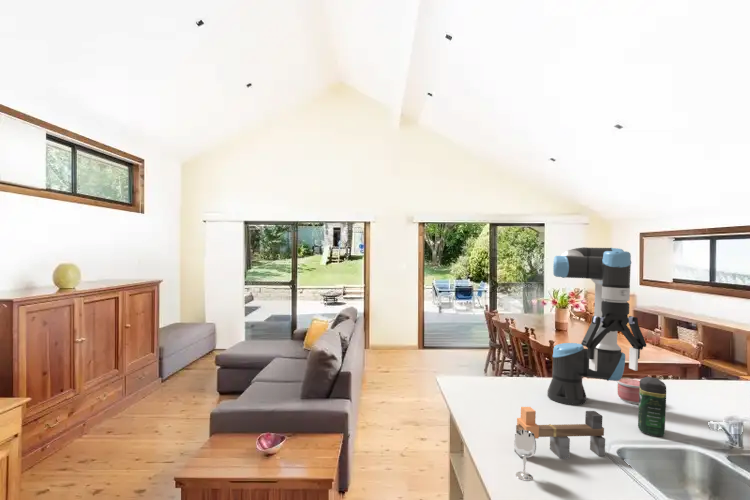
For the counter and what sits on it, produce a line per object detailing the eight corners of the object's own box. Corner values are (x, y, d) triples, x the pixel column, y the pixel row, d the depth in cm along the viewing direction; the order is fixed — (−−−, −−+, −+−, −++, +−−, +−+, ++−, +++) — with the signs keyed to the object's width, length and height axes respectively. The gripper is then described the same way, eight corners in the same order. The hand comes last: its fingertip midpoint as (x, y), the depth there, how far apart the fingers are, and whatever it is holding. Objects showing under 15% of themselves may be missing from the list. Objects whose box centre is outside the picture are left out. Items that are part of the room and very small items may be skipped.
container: (629, 395, 185) (629, 377, 185) (651, 404, 176) (651, 385, 175) (610, 397, 182) (611, 379, 182) (632, 406, 172) (632, 387, 172)
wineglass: (509, 470, 120) (511, 428, 120) (529, 470, 120) (530, 428, 120) (518, 482, 114) (519, 438, 114) (538, 481, 114) (540, 437, 114)
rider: (516, 429, 133) (517, 405, 132) (528, 429, 133) (529, 405, 133) (526, 438, 126) (526, 413, 126) (538, 438, 127) (539, 413, 126)
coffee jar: (666, 439, 142) (668, 385, 142) (639, 434, 146) (641, 380, 146) (662, 428, 151) (664, 377, 151) (636, 423, 155) (638, 373, 155)
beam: (513, 449, 132) (514, 410, 132) (594, 448, 135) (595, 409, 135) (521, 459, 126) (523, 418, 126) (606, 457, 129) (607, 417, 129)
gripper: (585, 302, 124) (583, 373, 124) (661, 303, 128) (659, 372, 128) (570, 298, 132) (568, 366, 132) (642, 299, 135) (640, 365, 135)
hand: (613, 369), depth 130 cm, fingers open, 13 cm apart
